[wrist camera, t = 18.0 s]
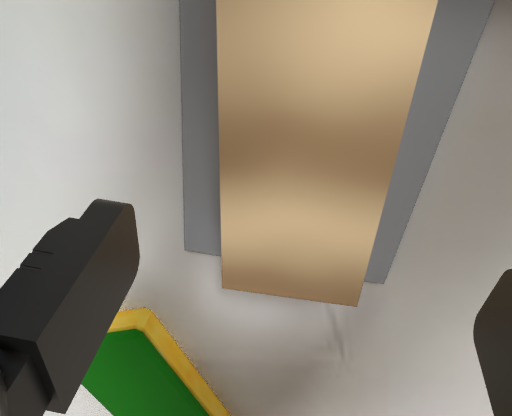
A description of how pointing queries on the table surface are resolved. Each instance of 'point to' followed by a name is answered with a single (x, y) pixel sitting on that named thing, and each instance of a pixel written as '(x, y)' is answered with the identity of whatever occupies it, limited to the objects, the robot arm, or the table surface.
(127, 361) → the dish sponge
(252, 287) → the oak block
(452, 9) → the slate mat
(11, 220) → the table surface
